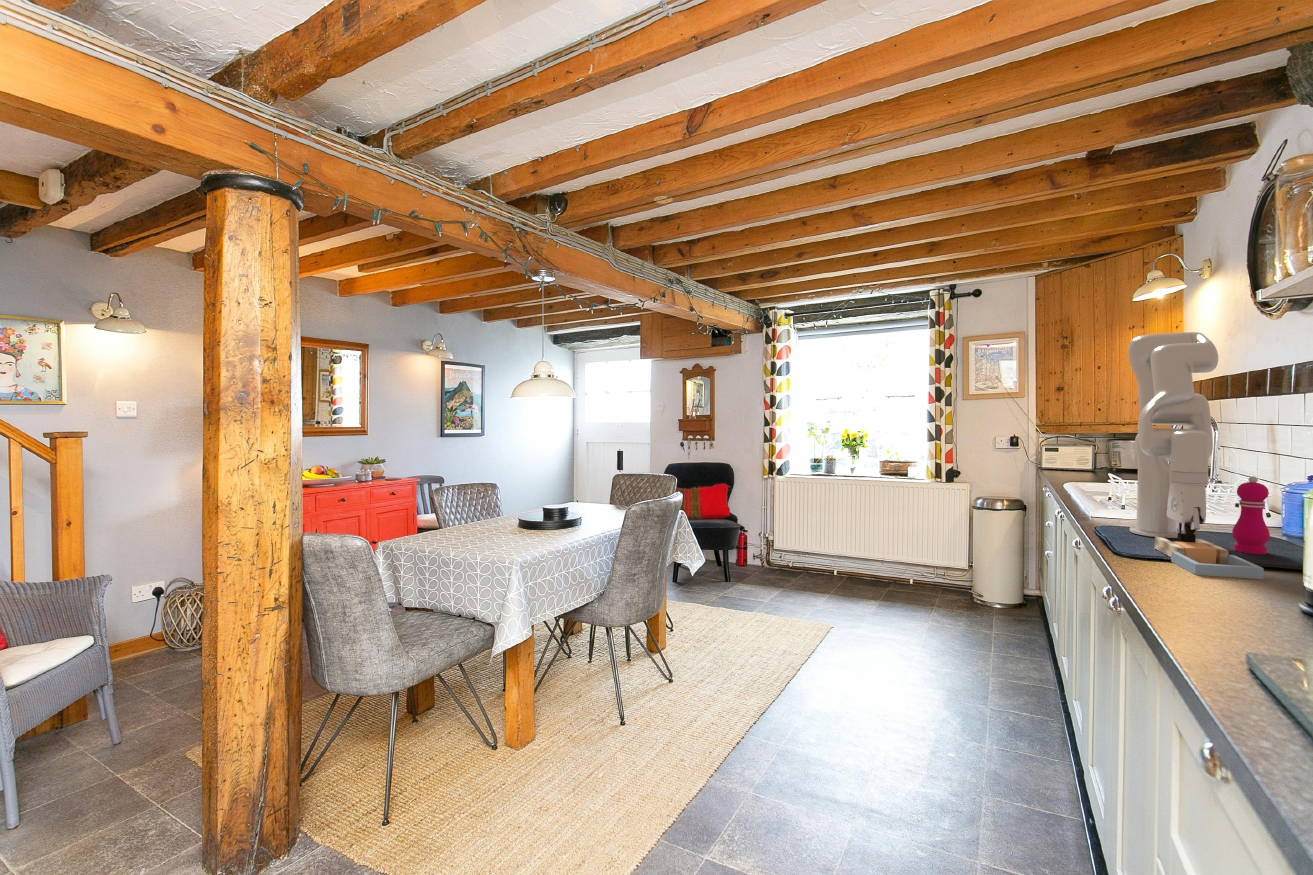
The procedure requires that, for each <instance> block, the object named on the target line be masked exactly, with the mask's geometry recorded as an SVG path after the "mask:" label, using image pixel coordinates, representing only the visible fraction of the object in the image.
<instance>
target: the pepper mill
mask: <svg viewBox="0 0 1313 875" xmlns="http://www.w3.org/2000/svg"><path fill="white" fill-rule="evenodd" d="M1269 494H1270V493H1269V488H1268V487H1267V486H1265V485H1264V484H1262V483H1260V482H1259V479H1258V477H1257V476H1253V475H1252V476H1250V477H1249V478H1248V481H1247V482H1242V483H1241V484H1239V486H1237V489H1236V495H1237V496H1238V497H1239V498H1240V499H1239V500H1238V502H1239V503H1238V505H1239V507H1240V515H1239V517H1238V518H1237V521H1236V523H1235V525H1233V528H1232V530H1231V531H1232V532H1231V537H1233V539H1234V540H1235V541H1236V542H1234V543H1233V550H1234V551H1235V552H1239V553H1242V552H1243V553H1242V554H1248V553H1250V554H1249V555H1266V554H1267V553H1268V552H1267V551H1268V549H1267V548H1268V547H1267V546H1266V545H1265V544H1267V543H1268V542H1269V541H1270V540H1271V533H1270V531H1269V528H1268V526H1267V524H1266V522H1265V519H1264V515H1263V514H1264V512H1263V511H1264V508H1265V507H1266V503H1267V502H1266V501H1265V500H1266V499H1267V498H1269Z"/></svg>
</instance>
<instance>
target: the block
mask: <svg viewBox="0 0 1313 875" xmlns="http://www.w3.org/2000/svg"><path fill="white" fill-rule="evenodd" d="M1172 542H1173V543H1175V544H1177V545H1179V546H1181V547H1183V548H1185V556H1186V557H1188V558H1190V559H1192V560H1194V561H1196V562H1198V563H1203V564H1217V563H1216V550H1217V549H1214V548H1212V547H1210V546H1208V545H1206V544H1203V543H1193V542H1177V541H1172Z"/></svg>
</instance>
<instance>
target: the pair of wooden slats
mask: <svg viewBox="0 0 1313 875" xmlns="http://www.w3.org/2000/svg"><path fill="white" fill-rule="evenodd" d="M1195 543H1203V544H1206V545H1208V546H1210V547H1212V548H1214V549H1217V550H1216V562H1217V563H1216V564H1219V565H1227V563H1228V555H1229V552H1230V550H1228V549H1226V548H1224V547H1221V546H1219V545H1216V544H1214V543H1212V542H1209V541H1207V540H1204V539H1203V538H1196V539H1195ZM1155 549H1157V550H1159V551H1161V552H1163V553H1164V554H1167V555H1168V556H1170V557H1171V554H1172V552H1178V553H1180V554H1182V555H1184V556H1185V548H1183V547H1181V546H1179V545H1177V544H1175V543H1173V541H1171V540H1169V539H1168V538H1163V537H1154V550H1155Z"/></svg>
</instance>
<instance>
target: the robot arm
mask: <svg viewBox="0 0 1313 875" xmlns="http://www.w3.org/2000/svg"><path fill="white" fill-rule="evenodd" d="M1127 351H1128V352H1127V353H1128V354H1127V355H1128V361H1129V362H1128V363H1129V364H1130V365H1129V366H1130V367H1131V369H1132V372H1133V374H1134V376H1135V378H1136V382H1137V393H1138V396H1137V397H1138V410H1139V415H1138V419H1137V434H1136V436H1135V438H1134V447H1135V453H1136V461H1137V492H1136V493H1137V494H1136V495H1137V496H1136V520H1135V522H1136V523H1135V524H1136V525H1133V526H1130V527H1129V531H1130V533H1133V534H1136V535H1139V536H1145V537H1151V538H1155V537H1163V538H1165V539H1177V540H1176V542H1193V543H1195V539H1197V536H1196V535H1197V531H1199V530H1200V529H1201V525H1203V524H1205V523H1206V518H1207V495H1206V494H1207V493H1206V486H1208V485H1209V467H1210V466H1209V464H1210V463H1209V462H1210V461H1209V460H1210V458H1211V456H1212V454H1213V449H1214V448H1213V447H1214V444H1213V443H1214V442H1213V432H1212V431H1213V429H1212V417H1211V408H1210V404H1209V403H1210V402H1209V400H1208V399H1207V398H1206V396H1204V395H1203V394H1200V393H1197V392H1196V393H1195V388H1194V380H1193V375H1192V374H1196V373H1197V374H1201V373H1202V374H1203V373H1204V374H1205V373H1211V372H1213V371H1214V370H1216V368H1217V366H1218V364H1219V353H1218V350H1217V347H1216V346H1215V344H1214V343H1213V341H1212V340H1211V339H1209V338H1208V336H1206V335H1205V334H1203V333H1202V332H1197V331H1188V332H1170V333H1169V332H1166V333H1165V332H1164V333H1150V334H1144V335H1143V334H1141V335H1138V336H1136V337H1134V338H1133V339H1131V340H1130V343H1129V344H1128V350H1127ZM1153 426H1185V427H1186V428H1169V427H1168V428H1165V427H1164V428H1163V427H1162V428H1161V427H1160V428H1157V427H1156V428H1154V427H1153ZM1169 462H1170V463H1169Z"/></svg>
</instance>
